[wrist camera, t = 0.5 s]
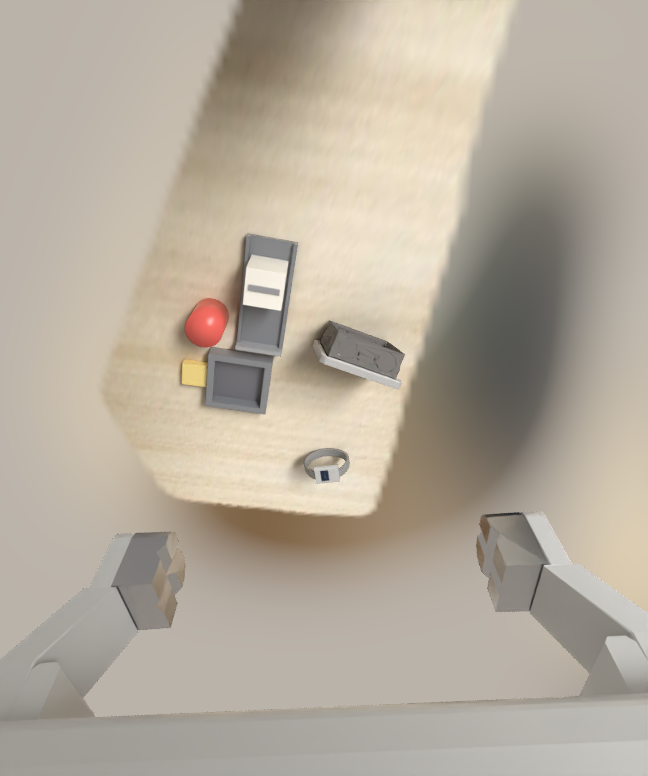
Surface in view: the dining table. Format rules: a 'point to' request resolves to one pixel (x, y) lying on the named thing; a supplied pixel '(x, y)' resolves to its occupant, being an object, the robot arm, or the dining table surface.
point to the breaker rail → (264, 325)
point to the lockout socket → (232, 379)
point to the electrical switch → (359, 354)
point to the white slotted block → (265, 282)
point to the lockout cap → (207, 323)
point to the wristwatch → (329, 471)
